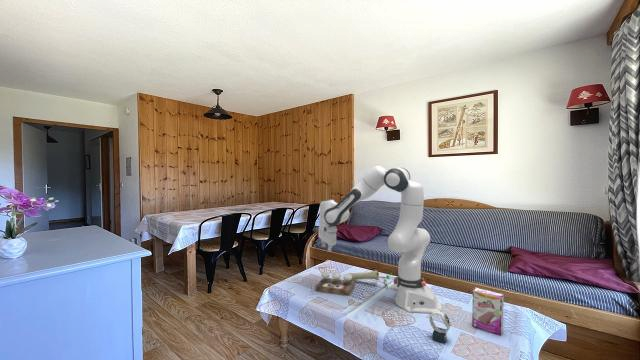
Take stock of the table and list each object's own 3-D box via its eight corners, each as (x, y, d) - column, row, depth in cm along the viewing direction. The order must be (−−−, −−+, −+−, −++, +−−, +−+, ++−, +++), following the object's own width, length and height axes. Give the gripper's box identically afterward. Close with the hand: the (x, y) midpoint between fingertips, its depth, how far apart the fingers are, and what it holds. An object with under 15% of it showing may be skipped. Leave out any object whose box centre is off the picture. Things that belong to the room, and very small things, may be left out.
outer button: (330, 275, 173) (330, 271, 173) (328, 278, 168) (328, 274, 168) (322, 274, 174) (322, 271, 174) (320, 277, 170) (320, 273, 170)
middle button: (341, 276, 170) (341, 273, 170) (339, 279, 166) (339, 276, 166) (333, 275, 172) (333, 272, 172) (331, 278, 167) (331, 275, 167)
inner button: (352, 277, 168) (352, 274, 168) (351, 280, 163) (350, 277, 163) (344, 276, 170) (344, 273, 170) (342, 279, 165) (342, 276, 165)
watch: (449, 345, 112) (449, 318, 112) (428, 339, 117) (428, 312, 116) (451, 338, 117) (451, 312, 116) (431, 332, 121) (431, 307, 121)
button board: (354, 286, 170) (354, 280, 170) (349, 295, 157) (349, 289, 157) (323, 282, 177) (323, 276, 177) (315, 291, 164) (315, 285, 164)
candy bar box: (471, 326, 125) (472, 290, 124) (474, 322, 129) (474, 286, 128) (501, 336, 118) (501, 297, 117) (503, 331, 121) (504, 293, 121)
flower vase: (354, 290, 181) (409, 288, 165) (346, 292, 171) (403, 289, 155) (352, 271, 185) (405, 267, 169) (344, 271, 175) (400, 267, 159)
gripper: (315, 222, 177) (315, 244, 178) (328, 230, 158) (327, 254, 159) (325, 222, 179) (325, 243, 180) (338, 229, 160) (338, 253, 161)
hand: (326, 248), depth 169 cm, fingers open, 8 cm apart
